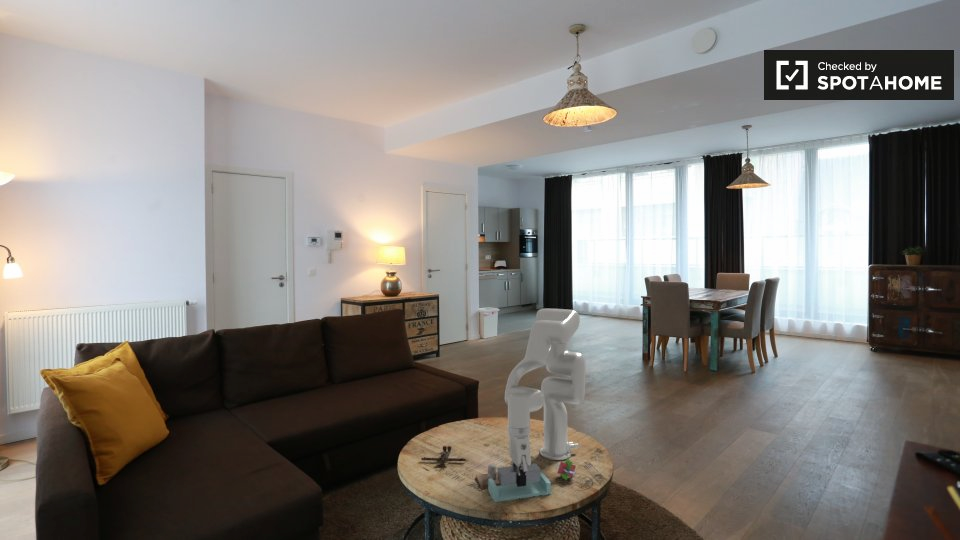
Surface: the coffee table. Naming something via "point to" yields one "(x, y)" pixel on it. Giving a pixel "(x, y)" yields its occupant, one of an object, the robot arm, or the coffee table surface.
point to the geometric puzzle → (566, 469)
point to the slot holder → (519, 489)
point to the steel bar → (510, 473)
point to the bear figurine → (444, 457)
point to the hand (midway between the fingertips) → (519, 481)
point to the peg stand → (489, 476)
